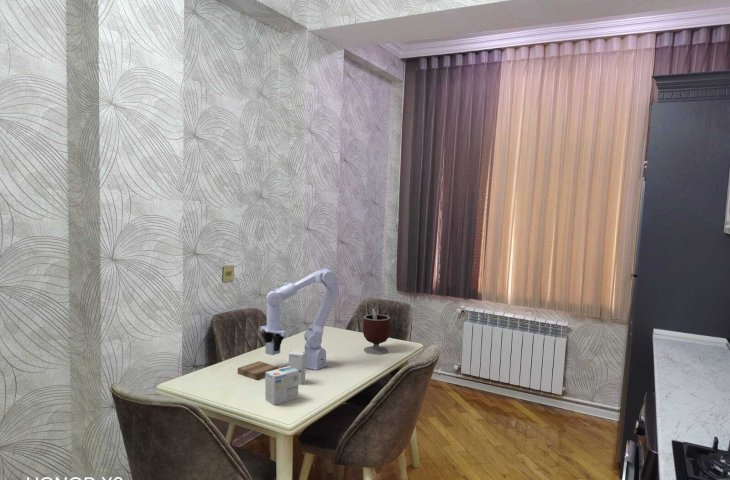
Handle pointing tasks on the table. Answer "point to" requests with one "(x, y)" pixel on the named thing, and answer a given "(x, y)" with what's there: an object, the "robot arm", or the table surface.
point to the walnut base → (256, 370)
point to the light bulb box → (281, 385)
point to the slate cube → (271, 348)
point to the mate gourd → (376, 332)
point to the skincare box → (298, 364)
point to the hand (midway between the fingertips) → (272, 349)
